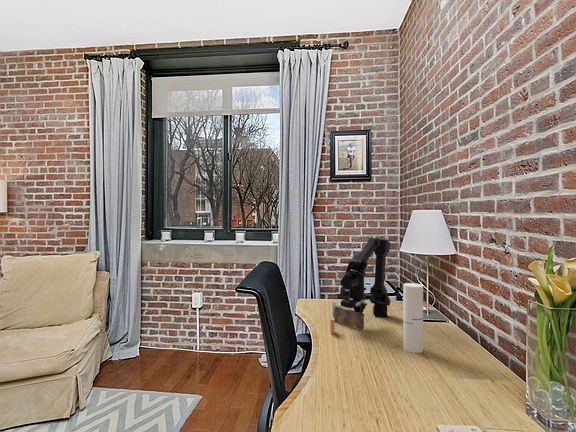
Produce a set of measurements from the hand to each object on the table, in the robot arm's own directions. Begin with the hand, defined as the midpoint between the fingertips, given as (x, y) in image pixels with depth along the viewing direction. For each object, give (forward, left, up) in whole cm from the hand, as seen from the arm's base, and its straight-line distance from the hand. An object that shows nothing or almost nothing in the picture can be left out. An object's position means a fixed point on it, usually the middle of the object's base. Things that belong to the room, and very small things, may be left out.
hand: (358, 318), depth 153 cm
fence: (+11, -2, -4) cm, 12 cm away
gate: (+4, 0, -3) cm, 5 cm away
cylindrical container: (-18, +24, -4) cm, 30 cm away
